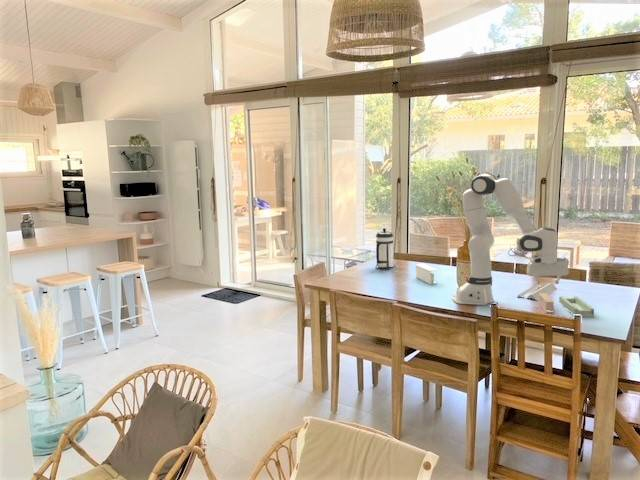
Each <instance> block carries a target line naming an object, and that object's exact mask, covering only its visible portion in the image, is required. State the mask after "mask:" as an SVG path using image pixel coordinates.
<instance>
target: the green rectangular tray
mask: <svg viewBox="0 0 640 480" xmlns="http://www.w3.org/2000/svg"><path fill="white" fill-rule="evenodd" d="M558 299H559V300H558V303H561V304H562V305H563V306H564V307H565V308H567V309H568V310H569V311H571V312H572V313H573V314H581V315H582V317H583V316H587V317H588V318H589V317H594V314H595V309H594V307H592V306H591V305H589V304H588V303H587V302H586V301H584V300H582V299H581V298H580V297H578V295H575V296H573V297H565V296H561V295H559V297H558ZM561 304H560V305H561ZM562 305H561V306H562ZM563 306H562V307H563ZM564 307H563V308H564ZM565 308H564V309H565ZM568 310H567V311H568ZM569 311H568V312H569Z"/></svg>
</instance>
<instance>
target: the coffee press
mask: <svg viewBox="0 0 640 480" xmlns="http://www.w3.org/2000/svg"><path fill="white" fill-rule="evenodd" d="M375 238H376V240H375V244H376V248H375V250H376V252H375V254H376V265H375V269H379V268H386V270H387V271H388V270H390V267H392V268H395V267H396V265H395V264H394V235H393V233H392V232H391V231H387V229H386V228H383V229H382V231H379V232H377V233H376V235H375Z"/></svg>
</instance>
